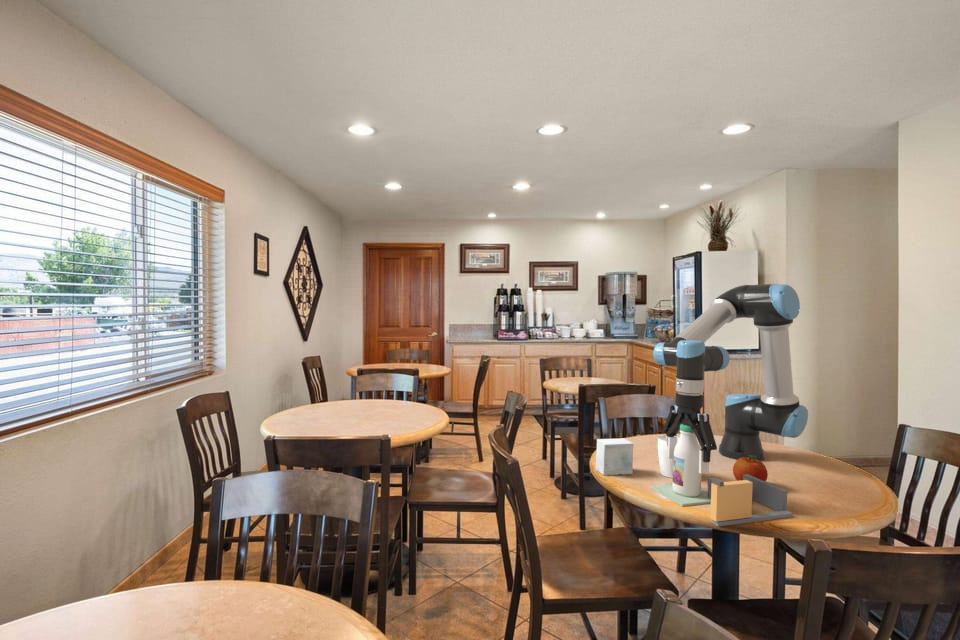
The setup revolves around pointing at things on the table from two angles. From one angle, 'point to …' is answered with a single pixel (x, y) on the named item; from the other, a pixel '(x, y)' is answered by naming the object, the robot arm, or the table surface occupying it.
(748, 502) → the tan wooden slab
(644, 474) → the table surface
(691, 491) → the milk bottle
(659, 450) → the cup
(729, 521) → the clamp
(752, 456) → the fruit
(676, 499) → the mat
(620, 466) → the skincare box
